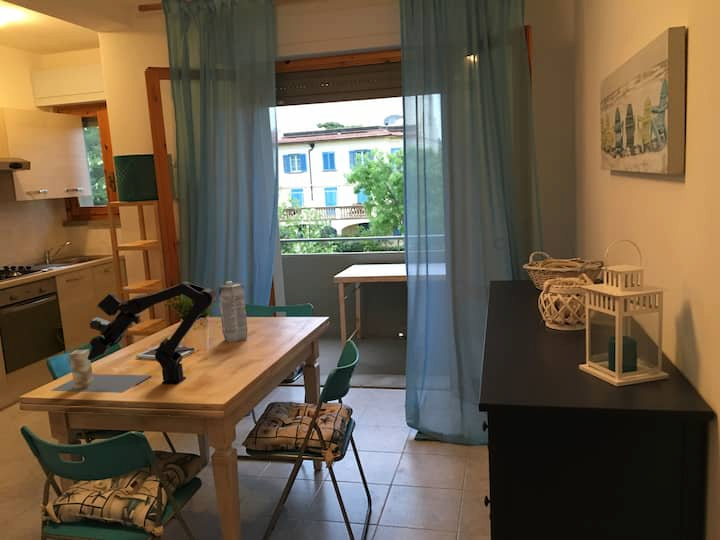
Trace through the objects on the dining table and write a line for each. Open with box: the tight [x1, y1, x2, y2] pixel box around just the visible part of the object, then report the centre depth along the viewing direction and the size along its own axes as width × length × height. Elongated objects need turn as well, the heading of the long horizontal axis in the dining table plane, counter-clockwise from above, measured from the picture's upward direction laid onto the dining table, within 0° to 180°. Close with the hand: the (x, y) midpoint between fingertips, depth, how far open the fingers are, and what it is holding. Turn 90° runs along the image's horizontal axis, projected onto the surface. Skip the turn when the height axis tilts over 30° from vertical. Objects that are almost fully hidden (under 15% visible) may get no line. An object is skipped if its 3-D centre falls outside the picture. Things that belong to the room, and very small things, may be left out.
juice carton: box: [217, 280, 248, 343], centre depth 272 cm, size 9×10×27 cm
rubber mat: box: [50, 373, 153, 394], centre depth 223 cm, size 30×18×1 cm, turn 76°
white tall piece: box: [69, 348, 94, 389], centre depth 220 cm, size 5×5×13 cm
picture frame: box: [135, 344, 195, 360], centre depth 257 cm, size 16×3×21 cm
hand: (93, 355), depth 219 cm, fingers open, 9 cm apart
